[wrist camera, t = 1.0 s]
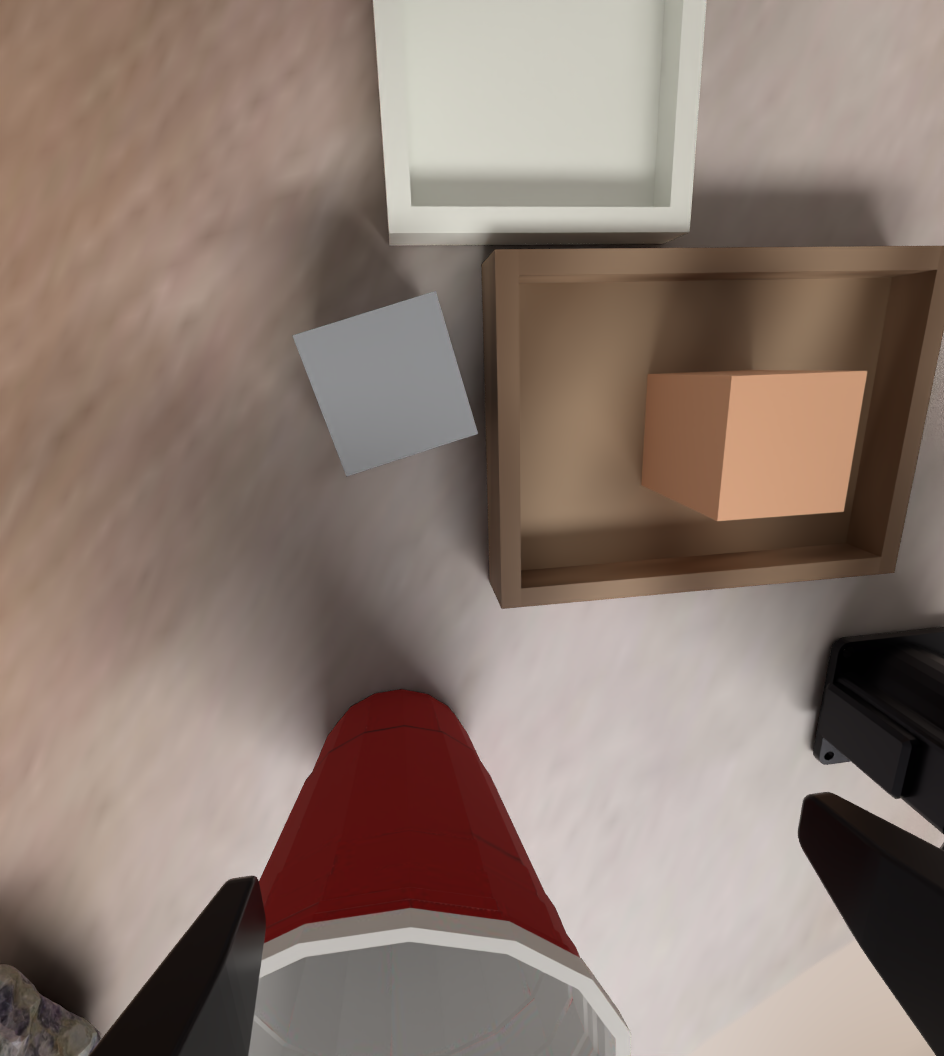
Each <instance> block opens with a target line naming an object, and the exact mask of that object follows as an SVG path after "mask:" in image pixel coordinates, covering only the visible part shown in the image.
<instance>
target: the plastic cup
mask: <svg viewBox="0 0 944 1056" xmlns="http://www.w3.org/2000/svg"><path fill="white" fill-rule="evenodd" d="M259 885H260V890H261V895H262V900H263V905H264V911H265V917H266V930H265V939H264V946H263V953H262V961H261V968H260V975H259V983H258V990H257V997H256V1005H255V1012H254V1019H253V1026H252V1034H251V1041H250V1047H249V1054H248V1056H631V1033H630V1031H629V1029H628V1027H627V1025H626V1023H625V1021H624V1019H623V1018H622V1016H621V1014H620V1012H619V1010H618V1009H617V1007H616V1006H615V1004H614V1003H613V1002H612V1000H611V999H610V997H609V996H608V995H607V993H606V992H605V990H604V989H603V988H602V986H601V985H600V983H599V982H598V981H597V979H596V978H595V976H594V975H593V974H592V972H591V971H590V969H589V968H588V967H587V965H586V964H585V962H584V961H583V960H582V958H580V956H579V954H578V951H577V949H576V947H575V945H574V944H573V942H572V941H571V940H570V938H569V937H568V935H567V934H566V932H565V929H564V927H563V925H562V922H561V920H560V918H559V915H558V913H557V911H556V908H555V906H554V905H553V904H552V902H551V901H550V899H549V898H548V896H547V895H546V894H545V892H544V890H543V888H542V885H541V883H540V881H539V879H538V877H537V875H536V873H535V870H534V868H533V866H532V864H531V862H530V860H529V858H528V855H527V853H526V851H525V849H524V847H523V845H522V843H521V840H520V838H519V836H518V834H517V832H516V830H515V828H514V825H513V823H512V821H511V819H510V817H509V815H508V813H507V810H506V808H505V806H504V804H503V802H502V800H501V798H500V795H499V793H498V791H497V789H496V787H495V785H494V783H493V780H492V778H491V776H490V775H489V773H488V772H487V770H486V769H485V767H484V766H483V764H482V763H481V761H480V759H479V757H478V755H477V753H476V750H475V748H474V746H473V744H472V742H471V740H470V738H469V735H468V734H467V732H466V731H465V729H464V728H463V726H462V725H461V723H460V722H459V720H458V719H457V717H456V716H455V714H454V713H453V712H452V711H451V710H450V708H449V707H448V706H446V705H445V704H443V703H442V702H440V701H438V700H437V699H435V698H434V697H432V696H430V695H429V694H426V693H420V692H414V691H409V690H403V689H399V690H393V691H388V692H382V693H376V694H373V695H371V696H369V697H368V698H366V699H364V700H362V701H360V702H359V703H357V704H355V705H353V706H351V707H350V708H349V710H348V711H347V712H346V713H345V714H344V716H343V717H342V718H341V719H340V720H339V722H338V723H337V724H336V725H335V727H334V729H333V730H332V731H331V732H330V733H329V735H328V736H327V739H326V741H325V743H324V746H323V748H322V750H321V753H320V755H319V757H318V760H317V762H316V765H315V767H314V769H313V772H312V773H311V774H310V775H309V777H308V778H307V779H306V781H305V783H304V785H303V787H302V789H301V791H300V794H299V796H298V798H297V800H296V802H295V804H294V807H293V809H292V811H291V813H290V815H289V817H288V820H287V822H286V824H285V826H284V828H283V830H282V833H281V835H280V837H279V839H278V841H277V843H276V846H275V848H274V850H273V852H272V854H271V857H270V859H269V861H268V863H267V865H266V867H265V870H264V872H263V874H262V876H261V878H260V880H259Z"/></svg>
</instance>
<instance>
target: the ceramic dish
mask: <svg viewBox="0 0 944 1056" xmlns="http://www.w3.org/2000/svg"><path fill="white" fill-rule="evenodd" d="M372 2H373V16H374V31H375V45H376V59H377V74H378V88H379V103H380V117H381V132H382V146H383V160H384V175H385V189H386V204H387V218H388V233H389V246H397V245H542V244H664V243H667V242H669V241H671V240H673V239H675V238H678V237H680V236H682V235H684V234H686V233H689V232H690V220H691V206H692V192H693V179H694V165H695V152H696V138H697V124H698V111H699V97H700V84H701V70H702V56H703V43H704V29H705V15H706V2H707V0H372Z"/></svg>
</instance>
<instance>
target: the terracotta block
mask: <svg viewBox="0 0 944 1056" xmlns="http://www.w3.org/2000/svg"><path fill="white" fill-rule="evenodd" d="M866 377H867V371H823V370H740V371H714V372H687V373H661V374H648V377H647V394H646V412H645V429H644V447H643V464H642V481H641V485H642V486H644V487H646V488H648V489H650V490H652V491H655V492H657V493H659V494H661V495H663V496H665V497H667V498H669V499H671V500H674V501H676V502H678V503H680V504H682V505H684V506H686V507H688V508H690V509H693V510H695V511H697V512H699V513H701V514H703V515H705V516H707V517H710V518H712V519H714V520H716V521H726V520H740V519H753V518H766V517H780V516H793V515H806V514H820V513H833V512H844V507H845V501H846V495H847V489H848V483H849V477H850V471H851V466H852V460H853V454H854V448H855V442H856V436H857V430H858V424H859V418H860V412H861V406H862V400H863V395H864V389H865V383H866Z"/></svg>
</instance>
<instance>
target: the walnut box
mask: <svg viewBox="0 0 944 1056" xmlns="http://www.w3.org/2000/svg"><path fill="white" fill-rule="evenodd" d="M481 267H482V306H483V345H484V384H485V423H486V462H487V501H488V540H489V579H490V584H491V586H492V588H493V591H494V593H495V595H496V597H497V599H498V602H499V604H500V606H501V608H502V609H505V608H516V607H526V606H537V605H548V604H559V603H570V602H581V601H592V600H603V599H614V598H625V597H636V596H647V595H657V594H668V593H679V592H690V591H701V590H712V589H723V588H734V587H745V586H756V585H767V584H777V583H788V582H799V581H810V580H821V579H832V578H843V577H854V576H865V575H876V574H887V573H894V572H895V567H896V562H897V557H898V552H899V547H900V542H901V537H902V532H903V528H904V523H905V518H906V513H907V508H908V503H909V498H910V493H911V488H912V483H913V478H914V473H915V469H916V464H917V459H918V454H919V449H920V444H921V439H922V434H923V429H924V424H925V419H926V414H927V410H928V405H929V400H930V395H931V390H932V385H933V380H934V375H935V370H936V365H937V360H938V355H939V351H940V346H941V341H942V336H943V331H944V246H858V247H732V248H606V249H495V250H494V251H493V252H492V253H491V254H490V256H489V257H488V258H487V259H486V260H485V261H484V262H483V264H482V265H481ZM740 370H823V371H867V377H866V383H865V389H864V395H863V400H862V406H861V412H860V418H859V424H858V430H857V436H856V442H855V448H854V454H853V460H852V466H851V471H850V477H849V483H848V489H847V495H846V501H845V507H844V512H833V513H820V514H806V515H793V516H780V517H766V518H753V519H740V520H726V521H716V520H714V519H712V518H710V517H707V516H705V515H703V514H701V513H699V512H697V511H695V510H693V509H690V508H688V507H686V506H684V505H682V504H680V503H678V502H676V501H674V500H671V499H669V498H667V497H665V496H663V495H661V494H659V493H657V492H655V491H652V490H650V489H648V488H646V487H644V486H642V485H641V481H642V464H643V447H644V429H645V412H646V394H647V377H648V374H661V373H687V372H714V371H740Z"/></svg>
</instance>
